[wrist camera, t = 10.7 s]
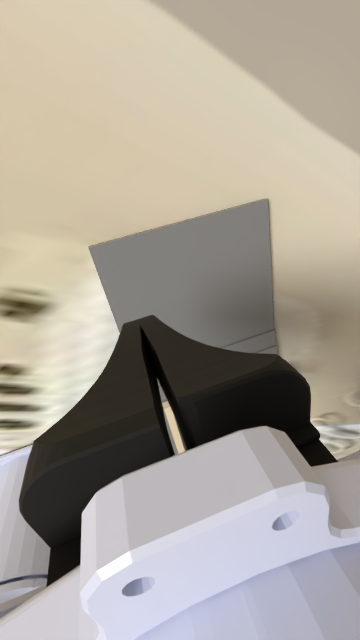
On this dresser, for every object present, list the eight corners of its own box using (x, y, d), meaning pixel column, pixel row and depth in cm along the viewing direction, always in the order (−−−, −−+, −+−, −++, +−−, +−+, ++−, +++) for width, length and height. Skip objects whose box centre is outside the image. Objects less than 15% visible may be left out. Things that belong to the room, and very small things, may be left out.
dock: (168, 465, 29) (174, 485, 27) (88, 246, 18) (88, 255, 16) (276, 422, 30) (288, 439, 28) (264, 198, 19) (283, 201, 17)
